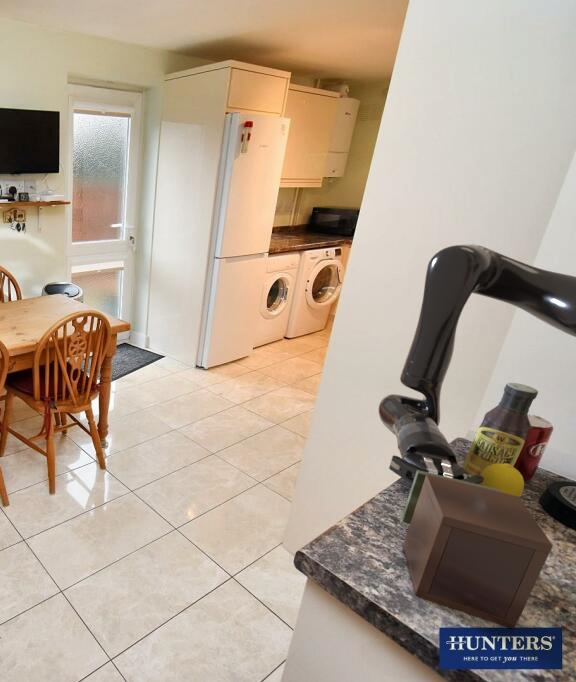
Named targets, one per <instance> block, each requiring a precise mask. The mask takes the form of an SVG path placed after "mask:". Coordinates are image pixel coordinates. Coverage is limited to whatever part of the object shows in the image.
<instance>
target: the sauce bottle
mask: <svg viewBox="0 0 576 682" xmlns="http://www.w3.org/2000/svg"><path fill="white" fill-rule="evenodd" d="M538 394H539V391H538V390H537V389H536V388H534V387H532V386H529V385H527V384H523V383H517V382H507V383H506V384H505V386H504V388H503V394H502V397H501V399H500V401H499V403H498V405H497V406H495V407H493V408H491V409H490V410H489V411H487V412H486V413H485V414H484V416H483V420H482V422H481V423H480V425H479V426H478V429H477V431H476V433H475V435H474V438H473V441H472V442H471V445H470V447H469V450H468V452H467V455H466V457H465V459H464V461H463V463H462V468H463V469H464V471H465V474H467V475H471V476H473V475H480V474H481V472H482V471H483V470H484V469H485V468H486V467H487V466H489V465H492V464H497V463H501V464H505V463H507V464H510V465H511V466H512V467H513V466H514V464H515V462H516V460H517V458H518V456H519V454H520V452H521V450H522V447H523V445H524V443H525V439H526V437H527V435H528V433H529V430H530V428H531V424H530V422H529V419H528V416H527V413H529V412H530V408H531V405H532V403H533V401H534V400H535V399H536V398H537V396H538Z"/></svg>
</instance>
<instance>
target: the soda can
mask: <svg viewBox="0 0 576 682" xmlns="http://www.w3.org/2000/svg"><path fill="white" fill-rule="evenodd" d="M527 416H528V419H529V422H530V424H531V428H530V430H529V433H528V435H527V437H526V439H525V443H524V445H523V447H522V450H521V452H520V454H519V456H518V458H517V460H516V462H515V464H514V466H513V467H514V468H515V469H517V470H518V471H519V472H520V474H521V475H522V477H523V480H524V484H526V483H530V482H532V481H533V480H534V477H535V474H536V473H537V471H538V467H539V465H540V463H541V460H542V458H543V456H544V453H545V452H546V449H547V446H548V443H549V441H550V439H551V436H552V434H553V432H554V426H553V424H552V423H551V422H550V421H549V420H547V419H545V418H543V417H541V416H539V415H536V414H532V413H529V412H528V413H527Z"/></svg>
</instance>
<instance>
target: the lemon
mask: <svg viewBox="0 0 576 682" xmlns="http://www.w3.org/2000/svg"><path fill="white" fill-rule="evenodd" d="M480 476H482V477H484V481H483V483H482V485H483V486H487V487H491V488H495V489H498V490H499V491H500V492H502V493H506V494H510V495H514V496H519V497H520V498H521V496H522V494H523V492H524V488H525V483H524V480H523V477H522V475H521V474H520V472H519V471H518V470H517V469H515V468H514V467H512V466H511V465H510V464H507V463H505V464H501V463H497V464H492V465H489V466H487V467H486V468H485V469H484V470H483V471H482V472H481V474H480Z"/></svg>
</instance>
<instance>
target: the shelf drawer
mask: <svg viewBox="0 0 576 682" xmlns="http://www.w3.org/2000/svg"><path fill="white" fill-rule="evenodd" d="M426 474H427V475H431V476H436V477H440V478H444V479H448V480H452V481H456V482H460V483H465V484H469V485H473V486H477V487H481V488H485V489H490V490H494V491H498V492H500V491H499V490H498V489H495V488H491V487H487V486H483V485H478V484H474V483H470V482H466V481H462V480H458V479H453V478H449V477H445V476H441V475H437V474H432V473H428V472H424V471H420V470H417V471H416V475H414V477H413V478H414V481H413V484H411V488H410V490H409V494H408V495H407V496H408V497H407V500H406V503H405V506H404V510H403V513H402V515H401V521H402V522H401V523H405V524H409V525H410V523H411V520H412V517H413V514H414V511H415V508H416V505H417V502H418V499H419V496H420V493H421V490H422V486H423V483H424V480H425V477H426Z"/></svg>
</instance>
